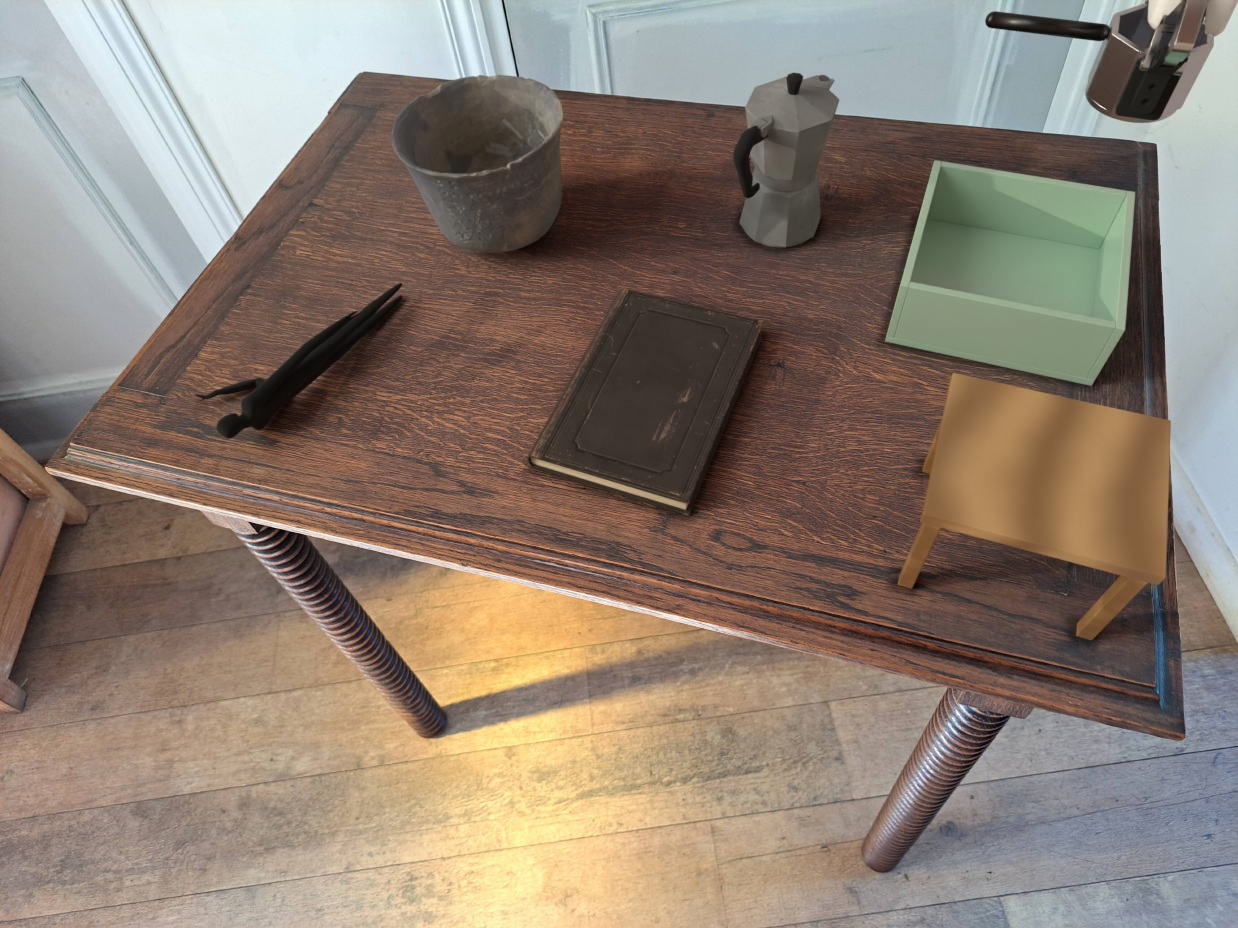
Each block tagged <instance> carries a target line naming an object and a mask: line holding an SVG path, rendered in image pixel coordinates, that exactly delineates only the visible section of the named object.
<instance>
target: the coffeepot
mask: <svg viewBox="0 0 1238 928" xmlns="http://www.w3.org/2000/svg"><path fill="white" fill-rule="evenodd" d="M835 81H836V80H835V79H834V78H830V77H829V76H828V75H825V74H819V75H818V74H815V75H812V76H809V77H806V78H804V75H803V74H801V73H800V72H791V73H788V74H787V75H786V76H784V77H781V78H777V79H774V80H771V81H769V82H766V83H763V84H759V85H757V86H754V88H753V90H752V92H751V94H750V96H749V98H748V100H747V102H746V104H745V107H744V109H745V116H746V117H745V118H746V126H747V127H746V128H747V129H745V130H744V131H742V133H741V135H740V137H739V138H738V141H737V143H736V145H735V147H734V149H733V155H732V158H733V163H734V167H735V170H736V174H737V177H738V181H739V185H740V188H741V191H742V195H743V197H744V198H745V199H744V204H743V207H742V211H741V215H740V218H739V219H740V220H739V223H738V224H739V225H740V227H741V228H742V229H743V231H744V232H745V234H746V235H747V236H748V237H749V238H750V239H751V240H753V241H754V242H755V243H757V244H760V245H763V246H765V247H771V248H791V247H795V246H799V245H801V244H803V243H805V242H807V241H808V240H810V239H812V238H814V236H815V234H816V231H817V229H818V225H819V223H820V220H821V218H822V215H821V195H820V180H819V179H820V178H819V172H818V168H819V165H820V163H821V160H822V158H823V154H824V150H825V147H826V144H827V141H828V138H829V135H830V131H831V129H832V125H833V122H834V119H835V115H836V112H837V109H838V106H839V103H840V98H839V97H838V96H836V94H835V93H833V92H832V91H831V88H832V86H833V84H834V83H835ZM751 163H752V164H753V165H754V169H753V171H751Z"/></svg>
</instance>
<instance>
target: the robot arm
mask: <svg viewBox="0 0 1238 928" xmlns="http://www.w3.org/2000/svg"><path fill="white" fill-rule="evenodd" d="M1144 4H1148V23H1149V24H1150V26H1151V27H1152V28H1153V31H1152V34H1151V37H1150V39H1149V42H1148V45H1147V47H1146V50H1145V53H1144V56H1143V58H1142V61H1141V63H1136V64H1135V66H1134V68H1133V70H1132V72H1131V75H1130V77H1129V79H1128V81H1127V84H1126V86H1125V88H1124V90H1123V92H1122V95H1121V97H1120V99H1119V101H1118V104H1117V106H1116V110H1115V113H1116V115H1118V116H1124V117H1131V118H1138V119H1145V120H1153V121H1155V120H1158V119H1159V118H1160V117H1161V115H1162V113H1163V111H1164V109H1165V107H1166V105H1167V104H1168V102H1169V100H1170V98H1171V96H1172V94H1173V92H1174V90H1175V88H1176V86H1177V84H1178V82H1179V80H1180V78H1181V76H1182V74H1183V71H1184V69H1185V66H1186V64H1187V61H1188V58H1189V56H1190V53H1191V51H1192V49H1193V47H1194V44H1195V41H1196V38H1197V36H1198V33H1199V30H1200V28H1201V25H1202V23H1203V20H1204V19H1205V34H1210V36H1212V37H1214V38H1215V37H1217V36H1219V35H1221V34H1222V33H1223V32H1224V31H1225V29H1226V28H1227V26H1228V23H1229V21H1230V20H1231V17H1232V15H1233V13H1234V12H1235V9H1236V7H1237V5H1238V0H1145V1H1144ZM1169 14H1173V15H1179V18H1178V22H1177V24H1169V23H1164V22H1165V19H1166V17H1167V16H1168V15H1169ZM1163 33H1170V34H1173V36H1172V38H1171V40H1170V41H1169V43H1168V46H1166V45H1162V46H1161V47H1160V48H1159V49H1158V50H1157V47H1158V45H1159V42H1160V39H1161V37H1162V34H1163ZM1156 50H1157V51H1156Z"/></svg>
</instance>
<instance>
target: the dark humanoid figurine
mask: <svg viewBox="0 0 1238 928" xmlns="http://www.w3.org/2000/svg"><path fill="white" fill-rule="evenodd" d="M402 287H403V283H402V282H399V283H397V284H396V285H394V286H392V287H391V288H389V289H388V290H386V291H385V292H383V294H381V295H380V296H378V297H376V298H375V299H374V300H372V301H371V302H369V304H367V305H366V306H364V308H362V309H361V310H360V311H359V310H355V311H353V312H350V313H348V314H347V315H345V316H343V317H341V318H340V319H338V320H337V321H335V322H334V323H332V324H330V325H329V326H328V327H325V329H323V330H321V331H320V332H319V333H317V334H316V335H314V336H313V337H311V338H310V339H309V340H307V341H306V342H304V343H303V344H302V345H301V346H300V347H299V348H298V349H297V350H295V352H294V353H293V354H292V355H291V356H290V357H289V358H288V359H287V360H286V361H284V363H282V364H281V365H280V366H279V367H278V368H277V369H276V370H275V371H274V372H273V373H271V375H269V376H268V377H267V378H266V379H264V378H262V377H256V378H252V379H247V380H243V381H240V382H236V383H233V384H230V385H227V386H224V387H222V388H218V389H215V390H213V391H211V392H209V393H207V394H198V393H194V396H196V397H198V398H199V400H198V402H202V401H204V400H210V399H213V398H215V397H217V396H225V395H227V396H228V395H232V394H236V393H240V392H244V391H248V390H251V389H253V390H252V391H251V392H249V393H248V394H247V395H246V396H245V397H243V398H242V400H241V403H240V407H241V413H240V415H239V414H238V413H236V412H233V413H229V414H226V415H224V416H222V417H221V418H219V420H218V421H217V422H216V427H215V429H216V431H217V433H218V434H219V435H221V436H222V437H223V438H226V439H233V438H235V437H236V436H237V435H239V433H241V432H242V431H243V430H245V429H248V428H252V429H253V430H256V431H262V430H263V429H264V428H265V427H266V426H267V425H268V423H269V422H270V420H272V418H273V417H274V416H275V414H276V413H277V412H278V411H279V410H280V409H281V408H283V407H284V406H285V405H287V404H288V403H289V402H290V401H292V400H293V399H294V398H295V397H296V396H298V395H299V394H301V392H303V391H304V390H306V388H308V387H309V386H310V385H311V384H313V383H314V382H315V381H316V380H317V379H318V378H319V377H320V376H322V375H323V374H324V373H325V372H326V371H327V370H328V369H329V368H331V367H332V366H333V365H334V364H336V362H338V361H339V360H340V359H341V358H342V357H344V356H345V355H346V354H347V353H348V352H349V351H350V350H351V349H352V348H353V347H354V346H355V345H356V344H357V343H358V342H359V341H360V340H362V339H363V338H364V337H365V336H367V335H368V334H369V333H370V332H371V331H372V330H374V329H375V328H376V327H377V326H378V325H380V323H381V322H382V321H383V320H384V319H385V318H386V317H387V316H388V315H389V314H390V313H391V312H392V311H393V310H395V308H396V307H397V306H398V305H399V304H400V303H401V301H403V295H399V296H397V297H395V298H394V299H392V300H391V298H392V297H394V295H395V294H396V293H398V292H399V290H400V289H401V288H402ZM390 300H391V301H390ZM388 301H389V302H388ZM387 302H388V303H387ZM386 303H387V304H386Z"/></svg>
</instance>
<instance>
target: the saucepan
mask: <svg viewBox="0 0 1238 928" xmlns="http://www.w3.org/2000/svg"><path fill="white" fill-rule="evenodd" d="M1178 18H1179V15H1173V14H1169V15H1168V16H1167V17H1166V19H1165V22H1164V23H1169V24H1177V22H1178ZM984 22H985V23H984V24H985V25H986V27H987V28H989V29H995V30H1002V31H1009V32H1010V31H1012V32H1017V33H1019V32H1020V33H1027V34H1034V35H1035V34H1036V35H1045V36H1053V37H1060V38H1068V39H1077V40H1084V41H1085V40H1086V41H1094V42H1101V44H1100V47H1099V49H1098V52H1097V54H1096V56H1095V59H1094V60H1093V61H1094V62H1093V64H1092V67H1091V69H1090V71H1089V74H1088V78H1087V84H1086V86H1085V89H1084V96H1085V99H1086V101H1087V102H1088V103H1089V105H1090V106H1091V107H1092V108H1093V109H1094V110H1096V111H1097V112H1099V113H1100V114H1102V115H1104V116H1106V117H1109V118H1111V119H1114V120H1118V121H1120V122H1127V123H1134V124H1148V123H1149V124H1150V123H1155V122H1156V123H1157V122H1160V121H1164V120H1166V119H1168V118H1170V117H1171V116H1173V115H1174V114H1175V113H1176V112H1177V111H1178V110H1181V109H1182V107H1183V106H1184V104H1185V102H1186V100H1187V98H1188V96H1189V94H1190V92H1191V90H1192V89H1193V86H1194V85H1195V83H1196V81H1197V79H1198V77H1199V75H1200V73H1201V72H1202V70H1203V67H1204V65H1205V64H1206V61H1207V60H1208V58H1209V55H1210V54H1211V52H1212V50H1213V48H1214V47H1215V37H1212V36H1210V34H1205V18H1204V20H1203V23H1202V25H1201V28H1200V30H1199V33H1198V36H1197V38H1196V41H1195V44H1194V47H1193V49H1192V51H1191V53H1190V56H1189V58H1188V61H1187V64H1186V66H1185V69H1184V71H1183V74H1182V76H1181V78H1180V80H1179V82H1178V84H1177V86H1176V88H1175V90H1174V92H1173V94H1172V96H1171V98H1170V100H1169V102H1168V104H1167V105H1166V107H1165V109H1164V111H1163V113H1162V115H1161V117H1160V118H1159V119H1158V120H1155V121H1153V120H1145V119H1138V118H1131V117H1124V116H1118V115H1116V113H1115V110H1116V106H1117V104H1118V101H1119V99H1120V97H1121V95H1122V92H1123V90H1124V88H1125V86H1126V84H1127V81H1128V79H1129V77H1130V75H1131V72H1132V70H1133V68H1134V66H1135V64H1136V63H1141V61H1142V58H1143V56H1144V53H1145V50H1146V47H1147V45H1148V42H1149V39H1150V37H1151V34H1152V31H1153V28H1152V27H1151V26H1150V24H1149V23H1148V4H1145V3H1141V4H1138V5H1135V6H1133V7H1130V8H1127V9H1126V8H1125V9H1123V10H1120V11H1118V12H1114V14H1113V15H1112V18H1111V20H1110V22H1109V24H1106V23H1099V22H1091V21H1082V20H1073V19H1067V18H1066V19H1065V18H1056V17H1047V16H1039V15H1030V14H1022V13H1013V12H1007V11H1006V12H1004V11H997V10H996V11H995V10H993V11H990V12H989V13H988V14H987V15H986V16H985V20H984ZM1172 36H1173V34H1170V33H1163V34H1162V37H1161V39H1160V42H1159V45H1158V47H1157V50H1158V49H1159V48H1160V47H1161V46H1162V45H1166V46H1168V43H1169V41H1170V40H1171V38H1172ZM1157 50H1156V51H1157Z"/></svg>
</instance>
